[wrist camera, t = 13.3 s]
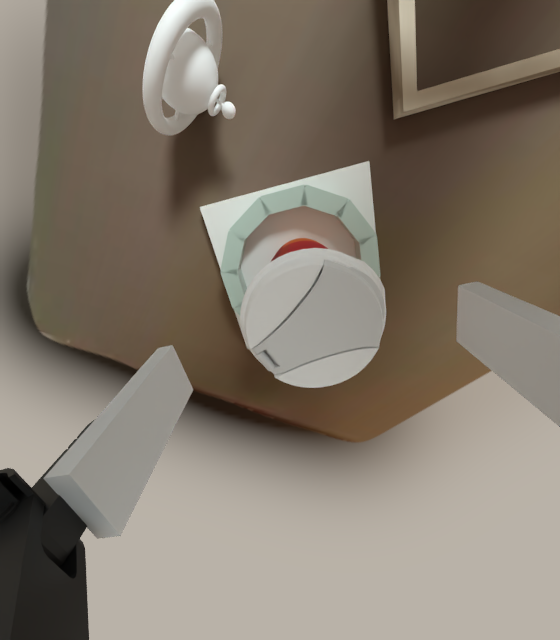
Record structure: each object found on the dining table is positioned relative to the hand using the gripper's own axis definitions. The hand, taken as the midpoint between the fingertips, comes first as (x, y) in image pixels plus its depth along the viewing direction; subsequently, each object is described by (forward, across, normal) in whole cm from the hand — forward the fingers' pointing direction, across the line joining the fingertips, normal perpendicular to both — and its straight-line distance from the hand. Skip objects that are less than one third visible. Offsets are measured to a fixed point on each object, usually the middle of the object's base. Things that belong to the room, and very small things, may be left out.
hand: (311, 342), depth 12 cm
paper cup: (+15, 0, 0) cm, 15 cm away
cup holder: (+16, 0, 0) cm, 16 cm away
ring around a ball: (+16, -4, +14) cm, 22 cm away
